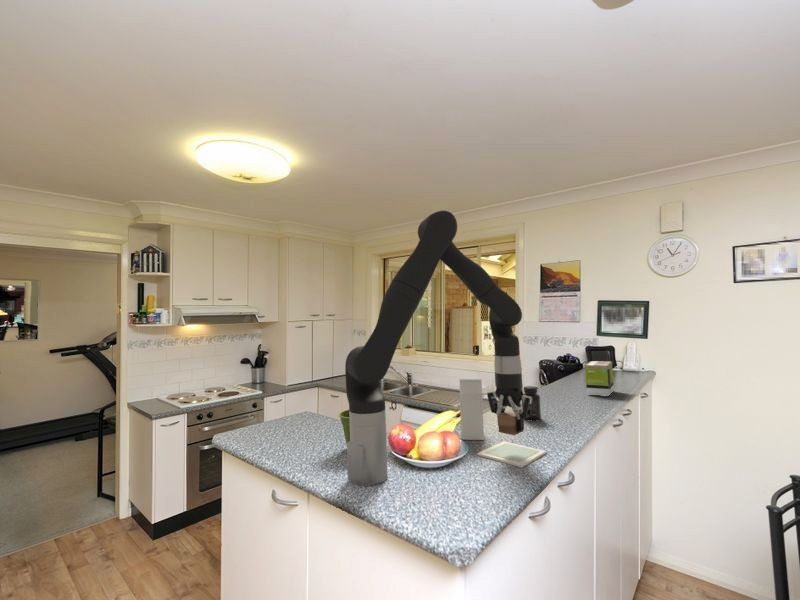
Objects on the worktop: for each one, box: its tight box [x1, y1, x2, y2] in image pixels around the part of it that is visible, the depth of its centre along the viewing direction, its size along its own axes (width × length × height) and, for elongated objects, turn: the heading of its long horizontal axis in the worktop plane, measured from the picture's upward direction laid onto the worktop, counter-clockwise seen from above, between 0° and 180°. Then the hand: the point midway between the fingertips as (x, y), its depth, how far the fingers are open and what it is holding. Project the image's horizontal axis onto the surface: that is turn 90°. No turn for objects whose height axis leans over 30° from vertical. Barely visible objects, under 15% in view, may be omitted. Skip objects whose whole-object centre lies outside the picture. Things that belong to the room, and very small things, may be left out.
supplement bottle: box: [521, 385, 542, 422], centre depth 151 cm, size 7×7×12 cm
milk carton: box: [459, 378, 485, 441], centre depth 131 cm, size 7×7×19 cm
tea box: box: [584, 360, 615, 396], centre depth 191 cm, size 15×10×15 cm, turn 144°
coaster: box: [476, 440, 548, 468], centre depth 114 cm, size 14×14×1 cm
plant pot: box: [337, 409, 350, 445], centre depth 124 cm, size 12×12×11 cm
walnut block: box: [497, 410, 524, 436], centre depth 114 cm, size 5×5×5 cm
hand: (510, 429), depth 114 cm, fingers closed on walnut block, 5 cm apart
